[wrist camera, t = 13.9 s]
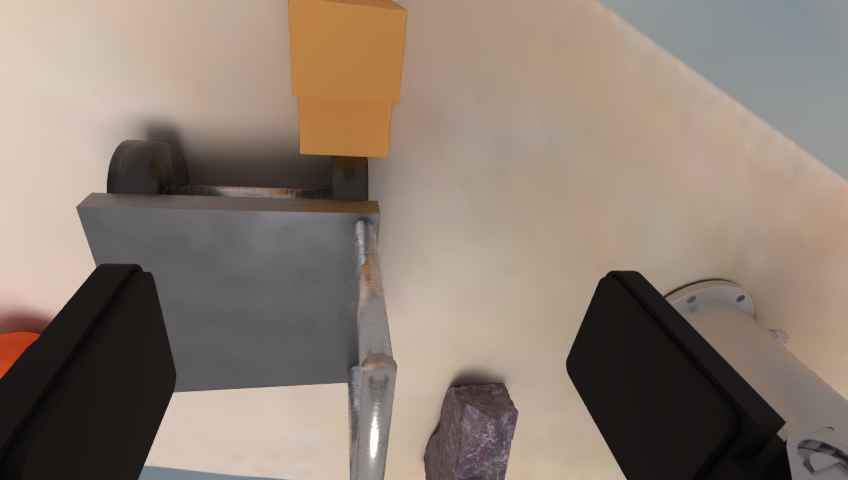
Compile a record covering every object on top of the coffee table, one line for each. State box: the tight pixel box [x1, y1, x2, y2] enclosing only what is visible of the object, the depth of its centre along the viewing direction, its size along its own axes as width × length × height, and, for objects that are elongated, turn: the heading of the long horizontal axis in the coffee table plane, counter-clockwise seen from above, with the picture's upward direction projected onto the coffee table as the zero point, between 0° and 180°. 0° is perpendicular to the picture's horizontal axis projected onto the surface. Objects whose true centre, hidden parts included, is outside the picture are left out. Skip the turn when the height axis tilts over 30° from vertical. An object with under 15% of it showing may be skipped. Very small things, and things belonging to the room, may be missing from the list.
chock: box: [288, 0, 407, 158], centre depth 23 cm, size 5×8×6 cm, turn 173°
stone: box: [424, 384, 518, 480], centre depth 42 cm, size 10×6×15 cm
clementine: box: [0, 332, 41, 379], centre depth 29 cm, size 8×7×7 cm
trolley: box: [76, 140, 397, 480], centre depth 23 cm, size 14×16×18 cm
